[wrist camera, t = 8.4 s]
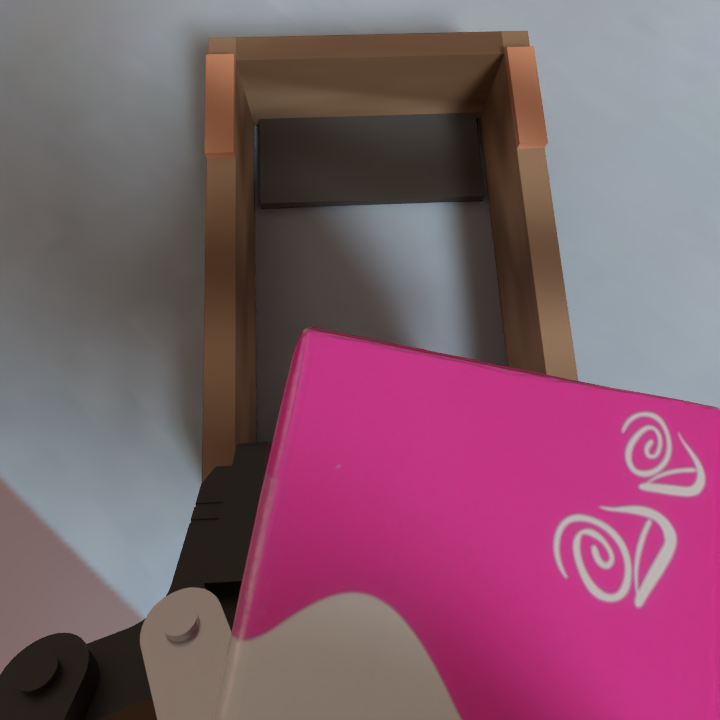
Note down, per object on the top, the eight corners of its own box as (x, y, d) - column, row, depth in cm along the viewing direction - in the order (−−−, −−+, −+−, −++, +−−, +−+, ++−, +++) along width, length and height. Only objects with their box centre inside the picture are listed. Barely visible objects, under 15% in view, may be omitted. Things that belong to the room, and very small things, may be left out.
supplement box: (463, 616, 16) (741, 984, 5) (287, 582, 16) (143, 862, 5) (485, 442, 17) (745, 399, 6) (322, 411, 17) (272, 312, 6)
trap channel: (231, 106, 21) (206, 31, 17) (499, 98, 22) (530, 23, 18) (229, 533, 18) (197, 553, 14) (551, 514, 18) (604, 529, 14)
